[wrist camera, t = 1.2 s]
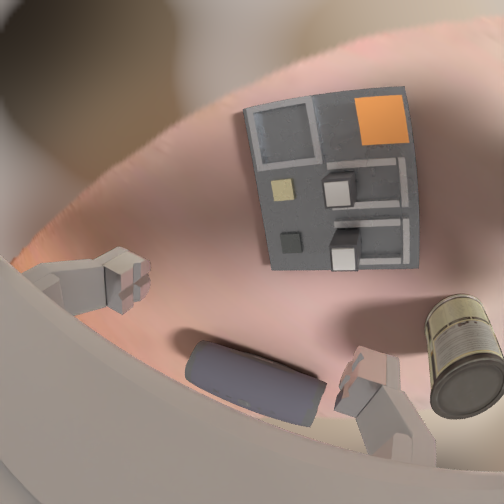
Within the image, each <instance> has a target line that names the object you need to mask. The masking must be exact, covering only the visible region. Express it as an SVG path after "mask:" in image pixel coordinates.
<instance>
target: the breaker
mask: <svg viewBox="0 0 504 504" xmlns="http://www.w3.org/2000/svg"><path fill="white" fill-rule="evenodd" d="M329 250H330V261H331V271H358V270H359V264H360V258H361V236H360V229H346V230H336V231H335V233H334V236H333V238H332V240H331V242H330V245H329Z"/></svg>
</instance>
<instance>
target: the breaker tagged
mask: <svg viewBox="0 0 504 504" xmlns="http://www.w3.org/2000/svg"><path fill="white" fill-rule="evenodd" d="M321 182H322V190H323V197H324V205H325V209H330V208H348V207H354V205H355V202H356V198H357V190H356V181H355V173H354V171H349V172H336V173H329V174H328V175H326V176H325V177H324V178H323V179H322V180H321Z"/></svg>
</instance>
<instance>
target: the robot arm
mask: <svg viewBox="0 0 504 504" xmlns="http://www.w3.org/2000/svg"><path fill="white" fill-rule="evenodd" d="M150 271H151V262H150V261H149V260H148V259H146V258H144V257H142V256H140V255H138V254H136V253H134V252H132V251H129V250H127V249H125V248H123V247H116V248H114V249H112V250H111V251H109V252H107V253H105V254H103V255H101V256H99V257H97V258H95V259H94V260H91V259H82V260H72V261H61V262H50V263H40V264H38V265H37V266H35V267H33V268H31V269H29V270H27V271H25V272H23V273H22V274H21V273H20V272H18V271H17V270H16V269H15V268H14V267H13V266H12V265H11V264H10V263H9V262H7V261H6V260H5V259H4V258H3V257H2V256H1V255H0V504H504V472H482V471H467V470H455V469H445V468H437V467H436V440H435V438H434V437H433V435H432V434H431V432H430V431H429V429H428V428H427V426H426V424H425V423H424V421H423V420H422V418H421V417H420V415H419V413H418V412H417V410H416V409H415V407H414V406H413V404H412V403H411V401H410V400H409V398H408V397H407V395H406V394H405V392H404V391H401V390H400V362H399V358H398V357H396V356H392V355H389V354H384V353H381V352H378V351H375V350H372V349H369V348H366V347H363V346H360V345H359V346H358V348H357V349H356V351H355V352H354V356H353V361H351V362H349V363H348V364H347V366H346V368H345V370H344V372H343V374H342V377H341V380H340V384H339V388H340V390H341V391H340V392H339V394H338V395H337V398H336V403H335V407H334V411H337V412H340V413H343V414H346V415H349V416H352V417H355V418H356V422H357V424H358V427H359V430H360V433H361V435H362V438H363V441H364V444H365V446H366V449H367V452H368V454H363V453H359V452H356V451H352V450H348V449H344V448H341V447H337V446H334V445H331V444H327V443H324V442H321V441H317V440H314V439H311V438H308V437H305V436H302V435H299V434H296V433H293V432H291V431H288V430H285V429H282V428H280V427H277V426H274V425H272V424H269V423H266V422H264V421H261V420H259V419H257V418H254V417H252V416H249V415H247V414H245V413H242V412H240V411H238V410H235V409H233V408H231V407H229V406H227V405H224V404H222V403H220V402H218V401H216V400H214V399H211V398H209V397H207V396H205V395H203V394H201V393H199V392H197V391H195V390H193V389H191V388H189V387H187V386H185V385H183V384H182V383H180V382H178V381H176V380H174V379H172V378H170V377H168V376H167V375H165V374H163V373H161V372H159V371H158V370H156V369H154V368H152V367H151V366H149V365H147V364H145V363H144V362H142V361H140V360H139V359H137V358H135V357H134V356H132V355H131V354H129V353H127V352H126V351H124V350H122V349H121V348H119V347H118V346H116V345H115V344H113V343H112V342H110V341H109V340H107V339H106V338H104V337H103V336H101V335H100V334H98V333H97V332H95V331H94V330H92V329H91V328H89V327H88V326H87V325H85V324H84V323H82V322H81V321H80V320H78V319H77V318H75V317H74V316H75V315H79V314H82V313H86V312H90V311H93V310H97V309H101V308H104V307H106V306H108V307H109V308H111V309H113V310H115V311H116V312H118V313H120V314H122V315H123V314H124V313H126V312H127V311H128V310H129V309H131V308H132V307H133V305H134V302H137V301H141V300H142V299H143V298H145V296H146V295H147V293H148V292H149V288H150V281H151V280H150V278H149V276H148V273H149V272H150Z"/></svg>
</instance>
